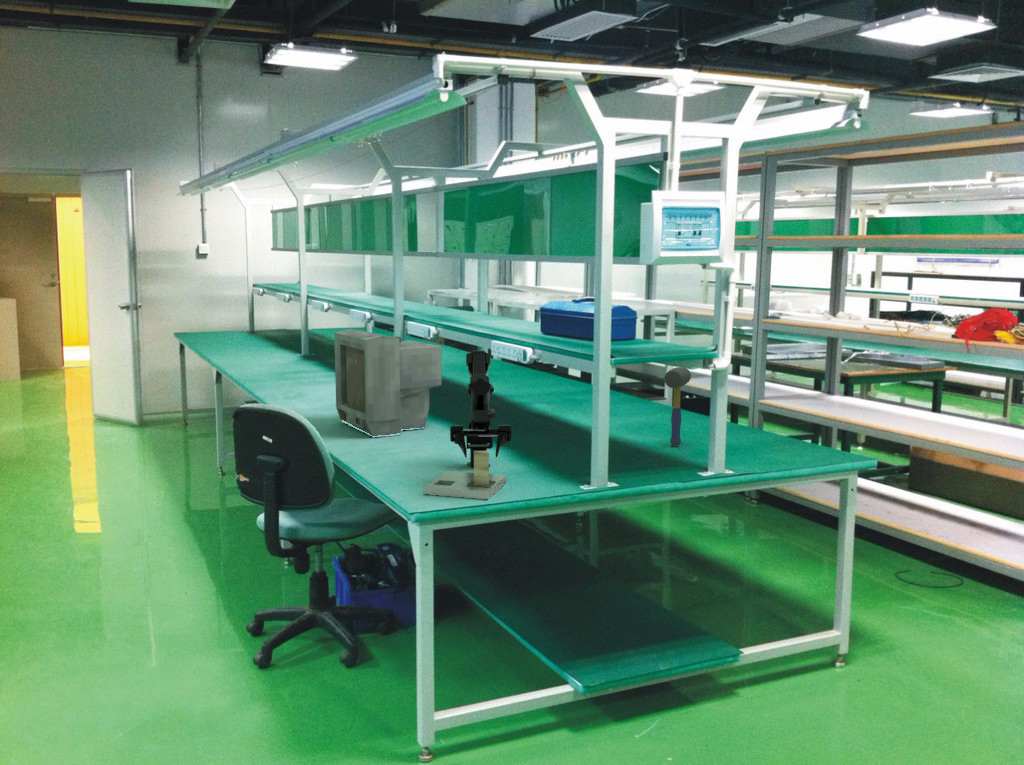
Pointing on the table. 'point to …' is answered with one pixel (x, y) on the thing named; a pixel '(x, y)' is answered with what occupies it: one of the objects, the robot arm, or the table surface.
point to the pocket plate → (464, 485)
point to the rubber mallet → (676, 399)
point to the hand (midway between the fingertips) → (481, 456)
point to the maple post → (481, 468)
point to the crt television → (384, 381)
